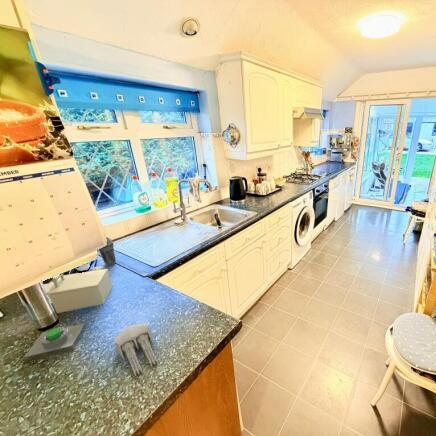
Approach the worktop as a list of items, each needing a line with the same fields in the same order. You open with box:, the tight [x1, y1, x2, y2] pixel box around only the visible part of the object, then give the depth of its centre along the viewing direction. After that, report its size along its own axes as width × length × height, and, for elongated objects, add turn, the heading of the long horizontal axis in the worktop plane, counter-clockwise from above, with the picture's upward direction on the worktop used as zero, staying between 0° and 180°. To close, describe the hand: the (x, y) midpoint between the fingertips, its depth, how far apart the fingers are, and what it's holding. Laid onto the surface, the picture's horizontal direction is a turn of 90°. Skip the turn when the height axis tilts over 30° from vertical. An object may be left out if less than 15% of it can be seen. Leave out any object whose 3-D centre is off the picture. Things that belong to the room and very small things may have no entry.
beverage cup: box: [98, 236, 117, 267], centre depth 124 cm, size 7×7×20 cm
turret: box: [113, 322, 159, 378], centre depth 78 cm, size 10×20×5 cm, turn 45°
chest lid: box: [45, 268, 109, 296], centre depth 97 cm, size 16×13×5 cm
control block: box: [23, 323, 87, 363], centre depth 80 cm, size 12×10×4 cm
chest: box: [48, 270, 114, 314], centre depth 100 cm, size 16×13×9 cm
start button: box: [46, 327, 62, 340], centre depth 79 cm, size 4×4×2 cm
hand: (48, 281), depth 80 cm, fingers closed
